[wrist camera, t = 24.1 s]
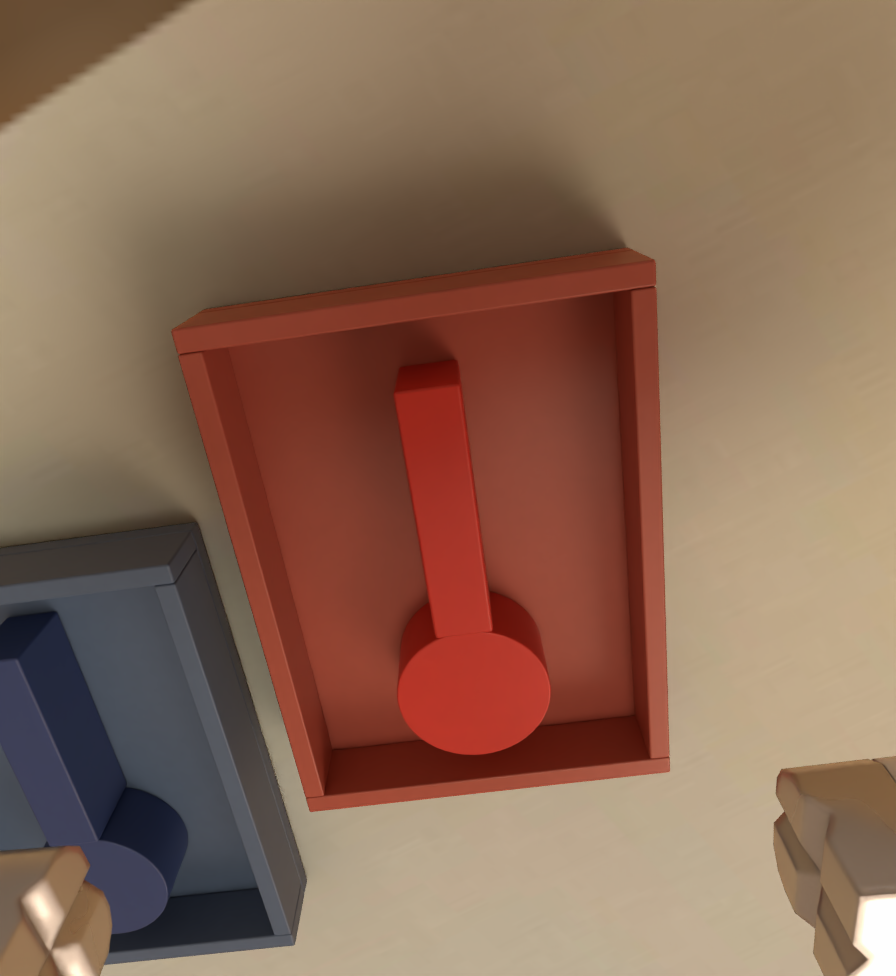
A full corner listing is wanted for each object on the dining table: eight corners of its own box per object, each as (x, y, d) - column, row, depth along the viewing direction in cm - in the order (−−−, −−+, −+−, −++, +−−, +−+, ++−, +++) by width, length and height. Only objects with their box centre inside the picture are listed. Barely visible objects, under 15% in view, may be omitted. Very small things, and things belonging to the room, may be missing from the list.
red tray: (202, 309, 20) (169, 329, 17) (629, 246, 19) (656, 259, 17) (321, 752, 26) (309, 812, 23) (648, 714, 25) (670, 772, 23)
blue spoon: (-38, 622, 23) (-89, 671, 21) (102, 604, 23) (65, 652, 20) (85, 883, 27) (54, 946, 25) (202, 870, 27) (181, 933, 25)
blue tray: (-163, 568, 23) (-233, 616, 20) (197, 521, 22) (168, 564, 20) (21, 910, 29) (-17, 978, 26) (307, 879, 28) (295, 946, 26)
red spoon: (345, 373, 20) (333, 400, 18) (511, 350, 20) (520, 375, 17) (412, 713, 24) (409, 768, 22) (547, 697, 24) (557, 751, 22)
